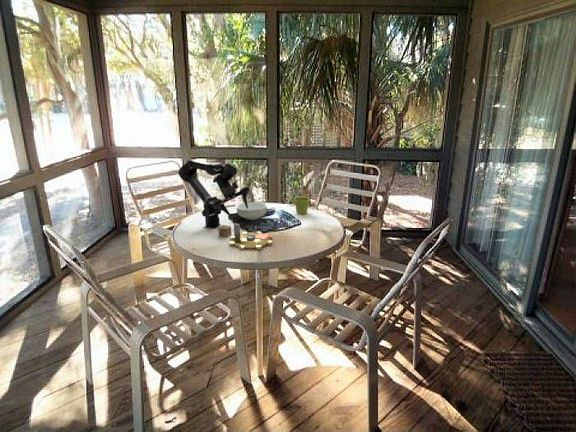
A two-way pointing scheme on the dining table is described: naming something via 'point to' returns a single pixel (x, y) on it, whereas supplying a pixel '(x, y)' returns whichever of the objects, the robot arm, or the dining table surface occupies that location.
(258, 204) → the cereal bowl
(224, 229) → the block
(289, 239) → the dining table surface
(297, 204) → the plant pot
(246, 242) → the sprocket
